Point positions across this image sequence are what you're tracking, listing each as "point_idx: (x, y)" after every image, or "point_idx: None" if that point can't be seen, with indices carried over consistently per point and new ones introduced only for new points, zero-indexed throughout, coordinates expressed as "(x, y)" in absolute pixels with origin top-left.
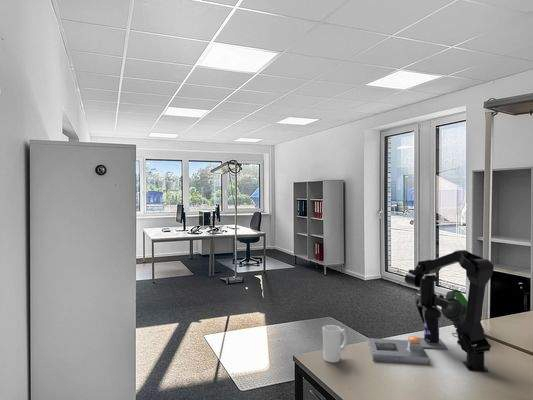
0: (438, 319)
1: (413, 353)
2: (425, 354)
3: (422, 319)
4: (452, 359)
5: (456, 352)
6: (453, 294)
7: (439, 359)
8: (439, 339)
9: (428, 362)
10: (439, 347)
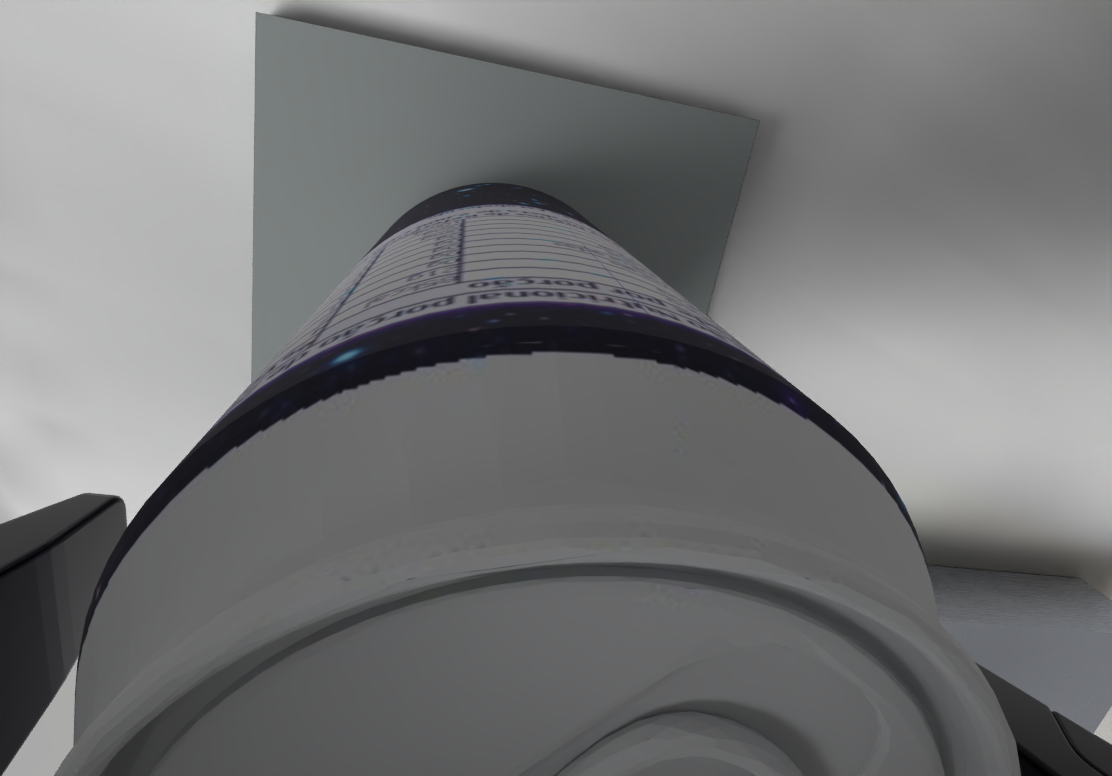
0: (865, 454)
1: None
2: (1068, 644)
3: (53, 681)
4: (1074, 238)
5: (880, 12)
6: None
7: (1014, 416)
8: (307, 63)
9: (1096, 596)
10: (708, 264)
